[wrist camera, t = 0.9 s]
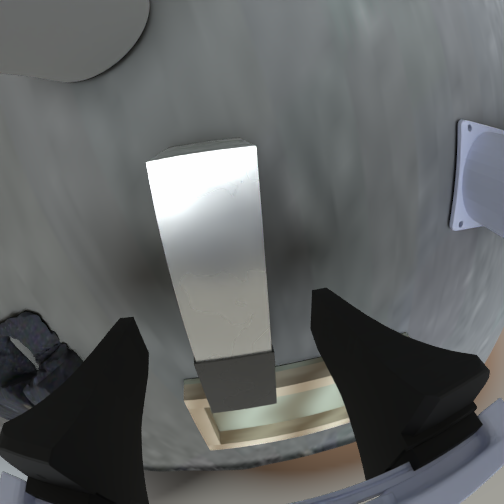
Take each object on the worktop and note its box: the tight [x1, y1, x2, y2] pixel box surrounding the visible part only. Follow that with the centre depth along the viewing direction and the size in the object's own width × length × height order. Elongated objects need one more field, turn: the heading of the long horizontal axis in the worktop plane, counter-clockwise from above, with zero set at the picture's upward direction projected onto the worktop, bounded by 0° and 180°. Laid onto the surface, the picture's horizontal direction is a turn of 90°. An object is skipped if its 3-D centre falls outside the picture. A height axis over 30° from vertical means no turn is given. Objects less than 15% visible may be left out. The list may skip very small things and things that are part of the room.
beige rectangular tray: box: [184, 332, 409, 450], centre depth 21 cm, size 18×9×2 cm, turn 95°
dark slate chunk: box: [0, 312, 83, 420], centre depth 16 cm, size 15×22×5 cm
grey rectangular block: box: [146, 138, 277, 413], centre depth 13 cm, size 13×4×5 cm, turn 5°
